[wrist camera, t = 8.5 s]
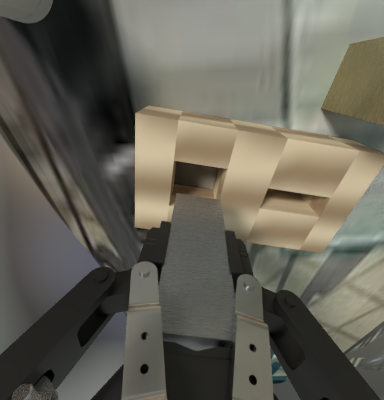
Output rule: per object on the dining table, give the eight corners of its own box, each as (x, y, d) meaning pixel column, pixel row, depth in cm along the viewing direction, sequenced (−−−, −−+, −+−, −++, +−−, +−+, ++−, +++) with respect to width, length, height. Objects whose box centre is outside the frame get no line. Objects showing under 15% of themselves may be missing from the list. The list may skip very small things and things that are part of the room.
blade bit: (350, 43, 17) (467, 19, 10) (367, 47, 18) (497, 25, 10) (321, 108, 20) (395, 128, 13) (336, 111, 20) (419, 133, 13)
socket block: (148, 105, 20) (135, 113, 16) (352, 140, 22) (390, 155, 17) (145, 203, 27) (134, 227, 23) (303, 225, 28) (322, 252, 24)
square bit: (176, 192, 16) (149, 331, 8) (220, 199, 16) (241, 341, 8) (172, 226, 18) (147, 365, 10) (211, 232, 18) (220, 372, 10)
